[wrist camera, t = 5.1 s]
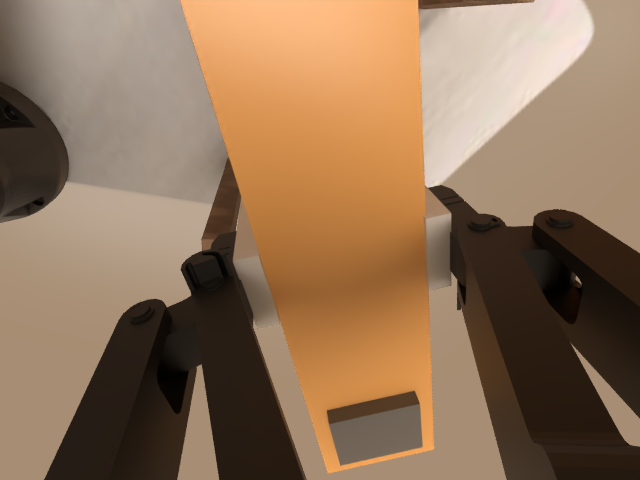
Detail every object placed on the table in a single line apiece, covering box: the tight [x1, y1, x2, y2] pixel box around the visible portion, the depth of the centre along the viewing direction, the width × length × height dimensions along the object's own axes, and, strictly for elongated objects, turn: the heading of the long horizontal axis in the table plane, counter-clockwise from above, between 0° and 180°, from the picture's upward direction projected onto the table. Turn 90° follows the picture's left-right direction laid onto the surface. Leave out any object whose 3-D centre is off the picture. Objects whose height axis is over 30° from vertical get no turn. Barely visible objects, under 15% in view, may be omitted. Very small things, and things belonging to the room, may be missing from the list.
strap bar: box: [180, 0, 434, 473], centre depth 13 cm, size 5×22×4 cm, turn 10°
